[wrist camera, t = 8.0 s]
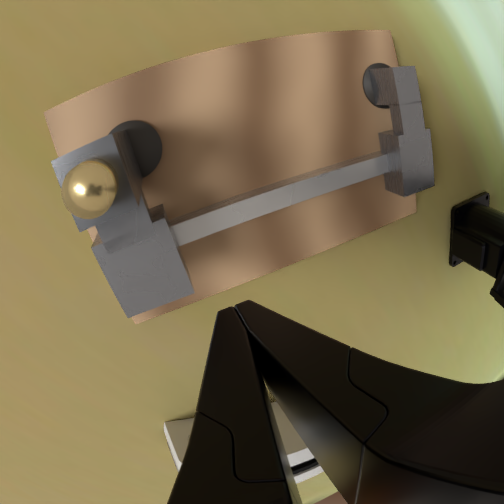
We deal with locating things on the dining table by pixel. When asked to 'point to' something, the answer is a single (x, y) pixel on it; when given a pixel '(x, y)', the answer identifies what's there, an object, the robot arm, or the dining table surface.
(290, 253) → the brown wooden board
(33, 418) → the dining table surface
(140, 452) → the dining table surface
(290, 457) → the grey curved block
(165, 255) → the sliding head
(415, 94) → the rail
